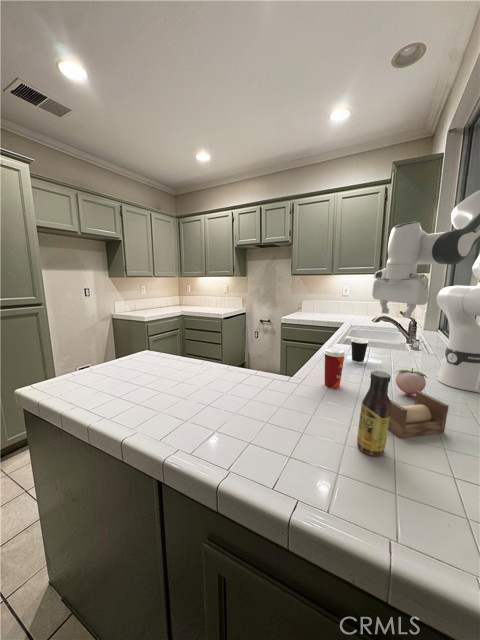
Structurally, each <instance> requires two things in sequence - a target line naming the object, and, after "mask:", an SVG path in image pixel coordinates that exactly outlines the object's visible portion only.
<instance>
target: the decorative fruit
mask: <svg viewBox="0 0 480 640" xmlns="http://www.w3.org/2000/svg"><path fill="white" fill-rule="evenodd" d="M396 373H397V374H396V376H395V383H396V386H397V388H398V389H399V390H400V391H401V392H403V393H405V394H407V395H409V396H410V395H416V392H417V391H420V392H423V391H424V390H425V388H426V384H427V383H426V378H428V376H427V375H426V374H424V373H423V372H421V371H415V370H414V368H411V370H408V369H404V368H403V369H399V370H397V371H396Z"/></svg>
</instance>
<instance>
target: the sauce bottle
mask: <svg viewBox="0 0 480 640" xmlns="http://www.w3.org/2000/svg"><path fill="white" fill-rule="evenodd" d="M370 372H371V373H370V384H369V388H368V391H367V392H366V394H365V396H364V398H363V399H362V402H361V407H360V413H359V420H358V421H359V422H358V429H357V435H356V437H357V438H356V445H357V448H358V449H359V450H360V451H361V452H363V453H364V454H366V455H367V456H374V457H379V456H382V455H383V454H384V453H385V448H386V444H387V438H388V431H389V430H388V426H389V419H390V409H391V401H390V400H391V399H390V397H389V395H388V392H389V391H388V389H389V383H390V382H391V374H390V373H388V372H386V371H382V370H372V371H370Z"/></svg>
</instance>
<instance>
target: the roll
mask: <svg viewBox="0 0 480 640" xmlns="http://www.w3.org/2000/svg"><path fill="white" fill-rule="evenodd" d="M402 407H403V408H405V409H407V417H406V424H405V425H407V424H415V423H423V422H430V421H431V412H430V410H429V409H428V408H427V407H426V406H425V405H422V404H420V405H415V404H409V405H402Z"/></svg>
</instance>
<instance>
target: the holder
mask: <svg viewBox="0 0 480 640" xmlns="http://www.w3.org/2000/svg"><path fill="white" fill-rule="evenodd" d="M390 401H391V409H390V419H389V426H388V431H389V432H390V433H391V434H393V435H395V436H396V437H397V438H398V439H400V440H401V439H408V438H414V437H421V436H429V435H435V434H444V433H445V431H446V425H447V417H448V412H449V404H446V403H444V402H442V401H440V400H438V399H436V398H434V397H432V396H430V395H429V394H426V393H424V392H423V391H421V392H420V391H417V392H416V394H415V398H414V405H420V404H422V405H425V406H426V407H427V408H428V409H429V410H430V412H431V421H430V422H423V423H415V424H407V425H405V424H406V417H407V409H405V408H403V407H402V406H403V405H402V406H401V405H400V404H398V403H397V402H396V401H394V400H391V399H390Z"/></svg>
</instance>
